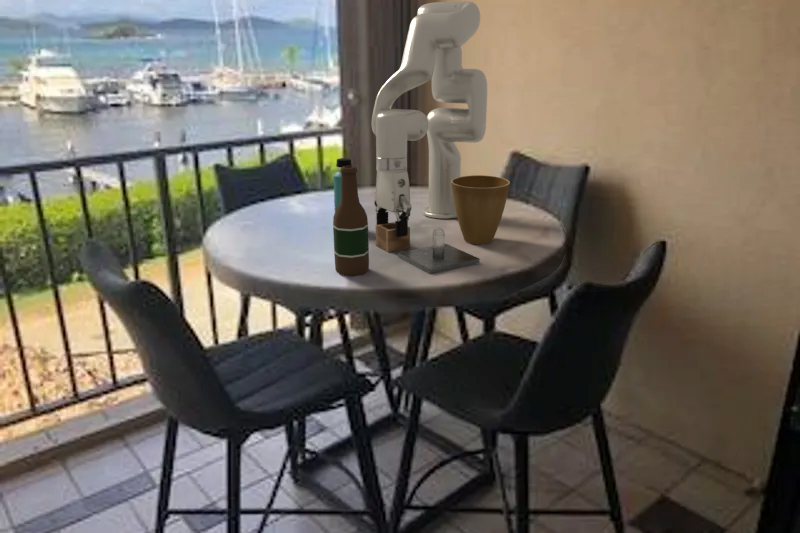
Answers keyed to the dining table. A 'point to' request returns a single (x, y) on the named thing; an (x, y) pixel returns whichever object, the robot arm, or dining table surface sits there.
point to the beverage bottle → (339, 180)
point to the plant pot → (479, 205)
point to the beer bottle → (350, 228)
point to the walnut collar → (391, 238)
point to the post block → (438, 255)
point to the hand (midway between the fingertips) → (391, 231)
